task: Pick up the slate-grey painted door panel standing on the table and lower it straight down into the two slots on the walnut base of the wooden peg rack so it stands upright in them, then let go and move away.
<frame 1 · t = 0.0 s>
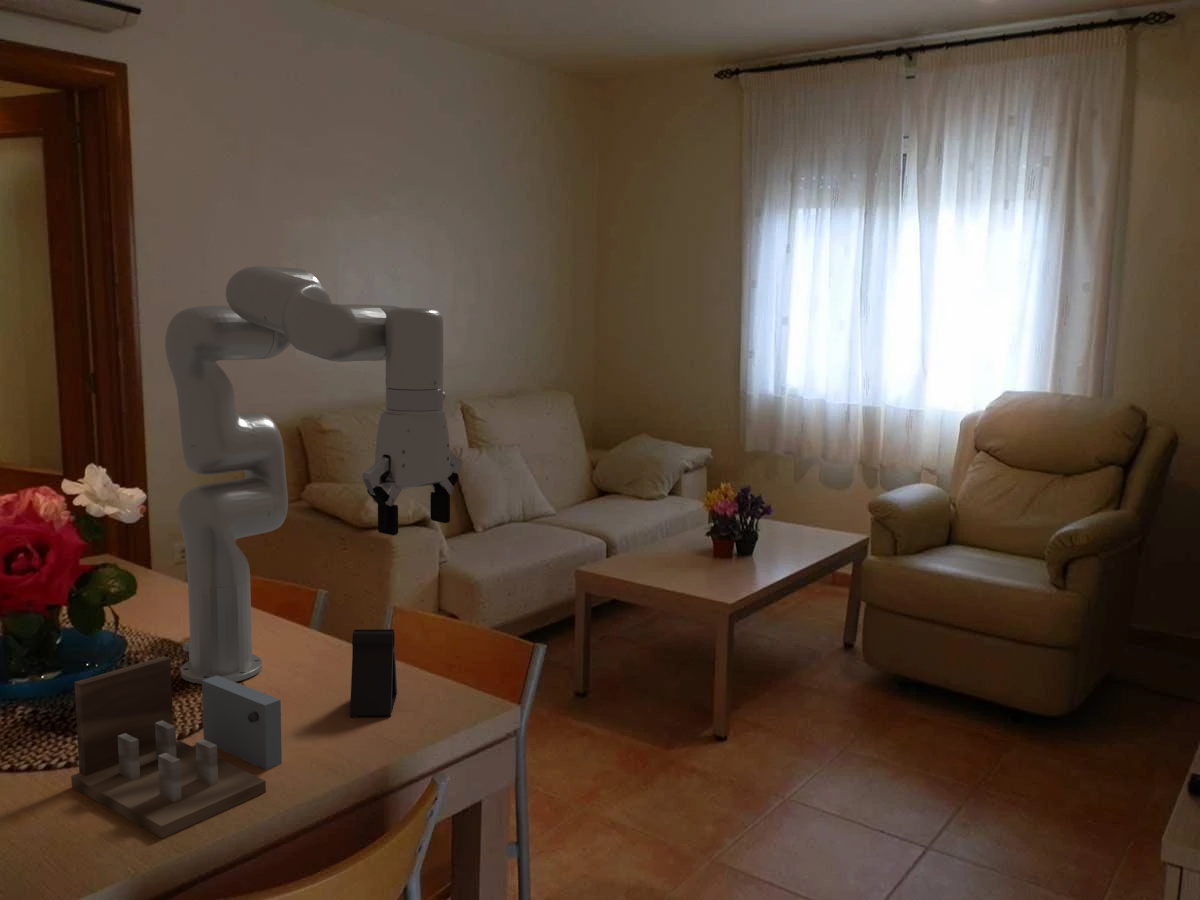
hand: (414, 527, 135), 31 cm above the table, tool pointing down, fingers open, 9 cm apart
wooden peg rack: (168, 789, 126), on the table
phone stand: (374, 707, 153), on the table
door panel: (241, 752, 137), on the table
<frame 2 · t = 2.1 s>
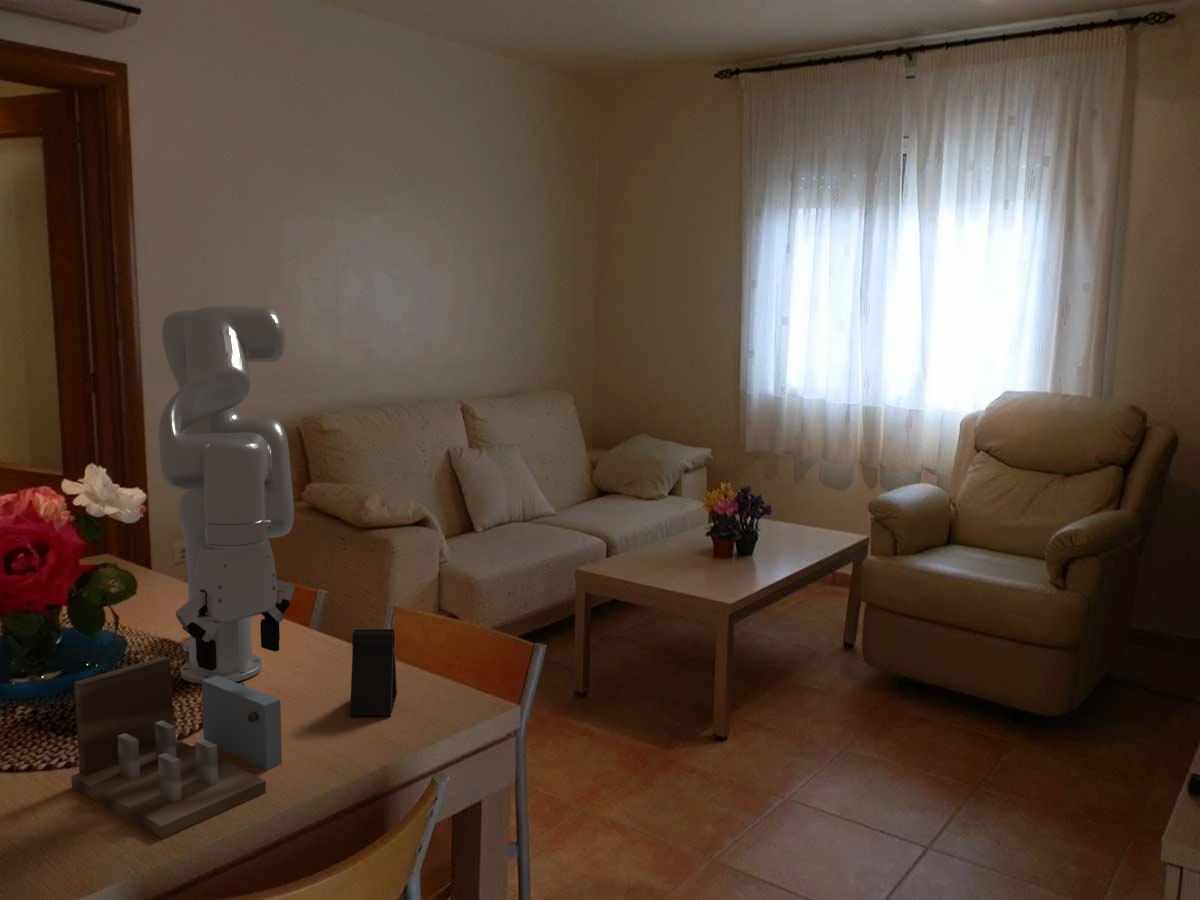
hand: (239, 658, 134), 14 cm above the table, tool pointing down, fingers open, 9 cm apart
nothing on the table moved.
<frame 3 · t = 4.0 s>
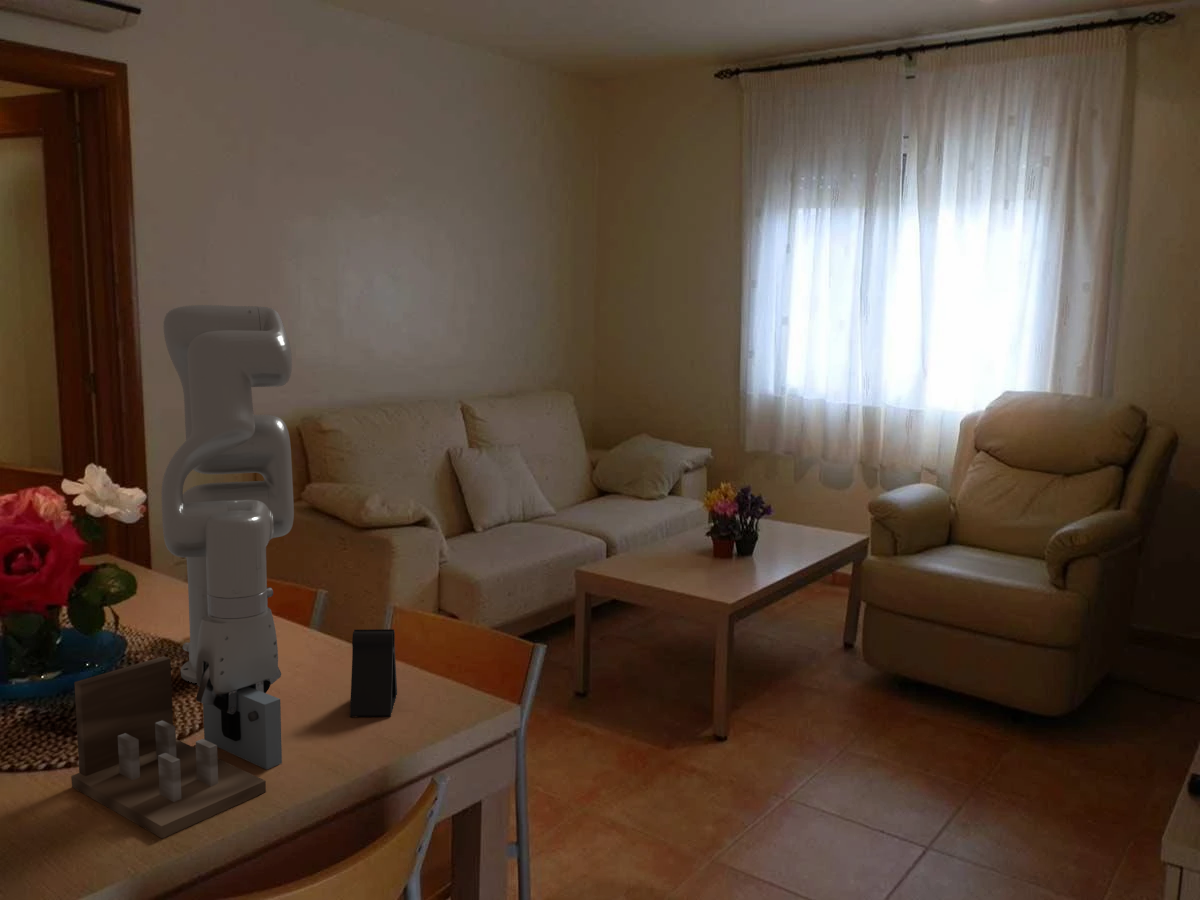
hand: (241, 733, 136), 3 cm above the table, tool pointing down, fingers closed on door panel, 2 cm apart
door panel: (242, 751, 137), on the table, touching gripper
everything else where it was.
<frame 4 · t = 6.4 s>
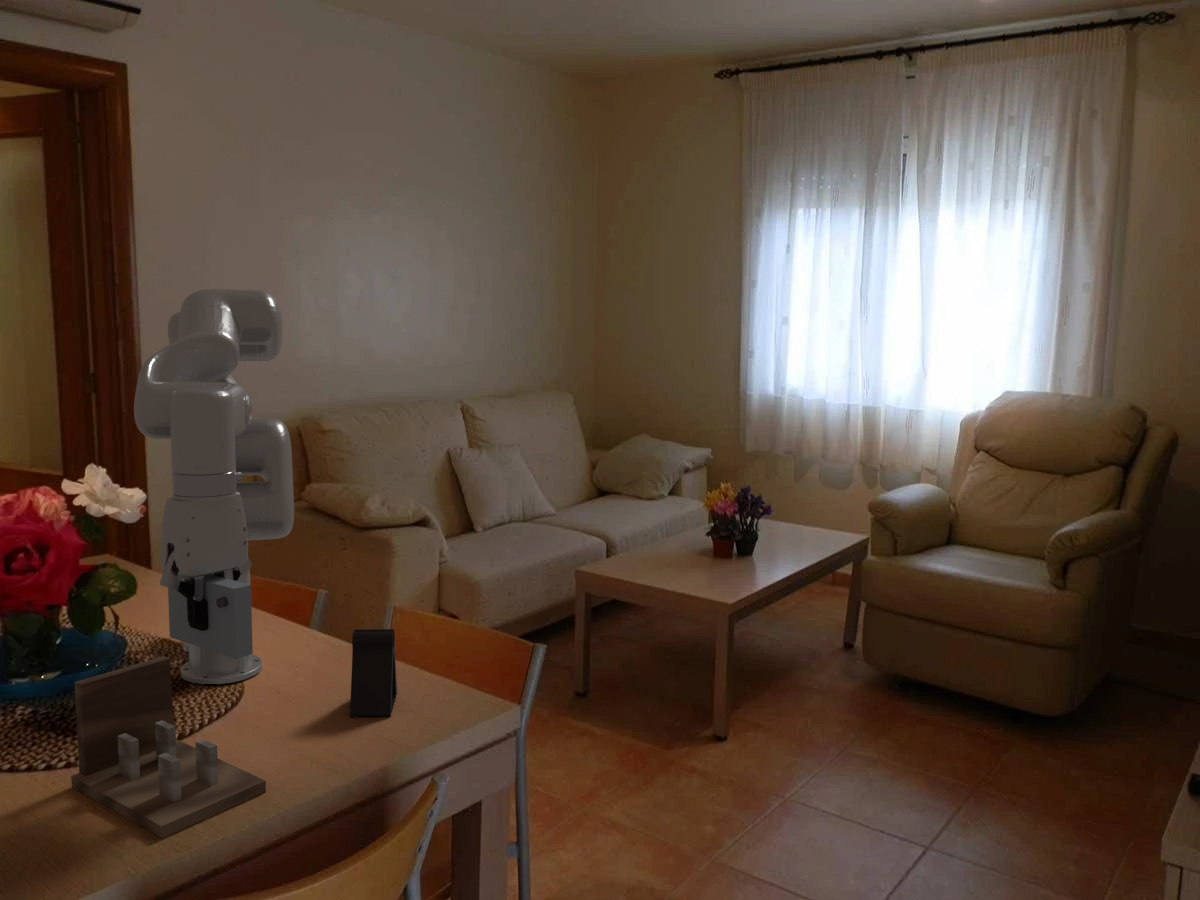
hand: (209, 624, 129), 20 cm above the table, tool pointing down, fingers closed on door panel
door panel: (210, 645, 129), point 17 cm above the table, touching gripper
everything else where it was.
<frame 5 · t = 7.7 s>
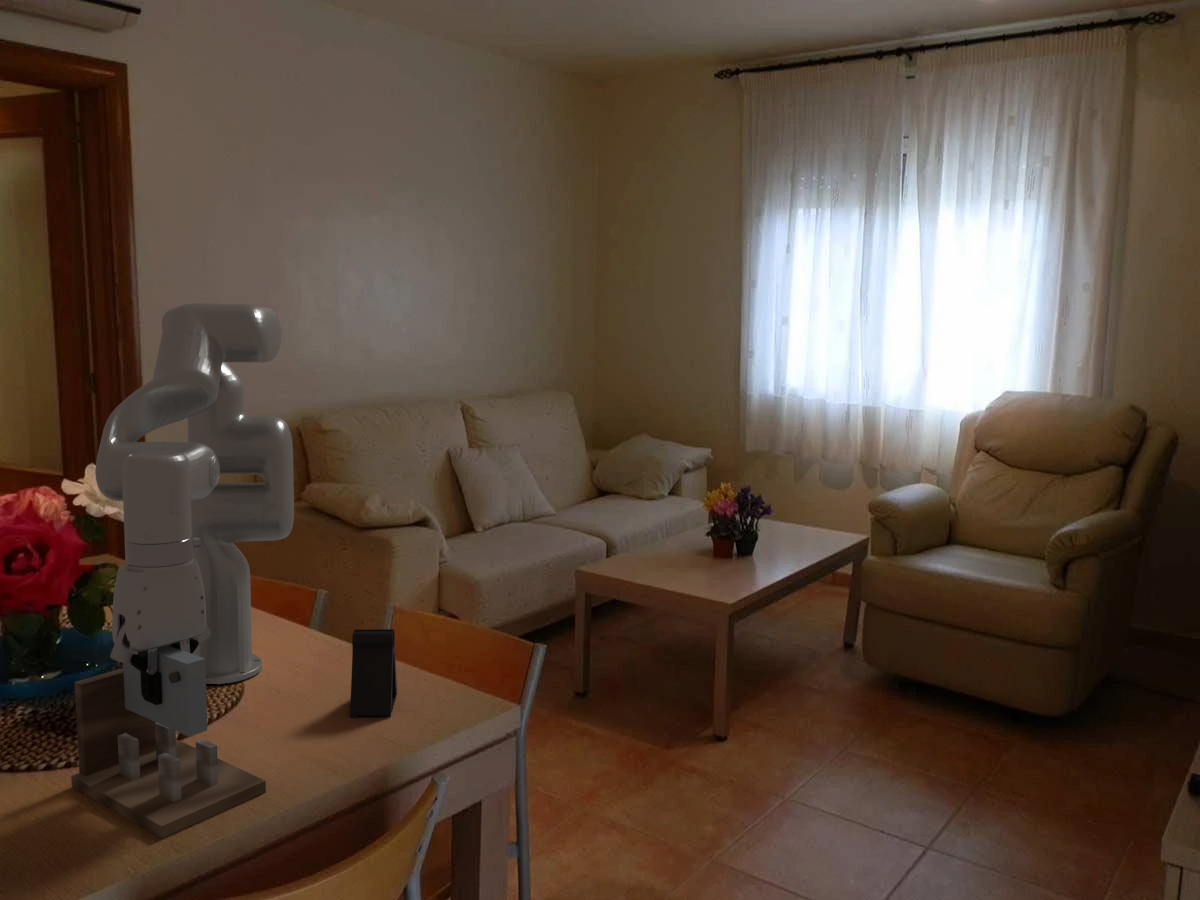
hand: (164, 697, 124), 12 cm above the table, tool pointing down, fingers closed on door panel
door panel: (165, 719, 124), point 9 cm above the table, touching gripper
everything else where it was.
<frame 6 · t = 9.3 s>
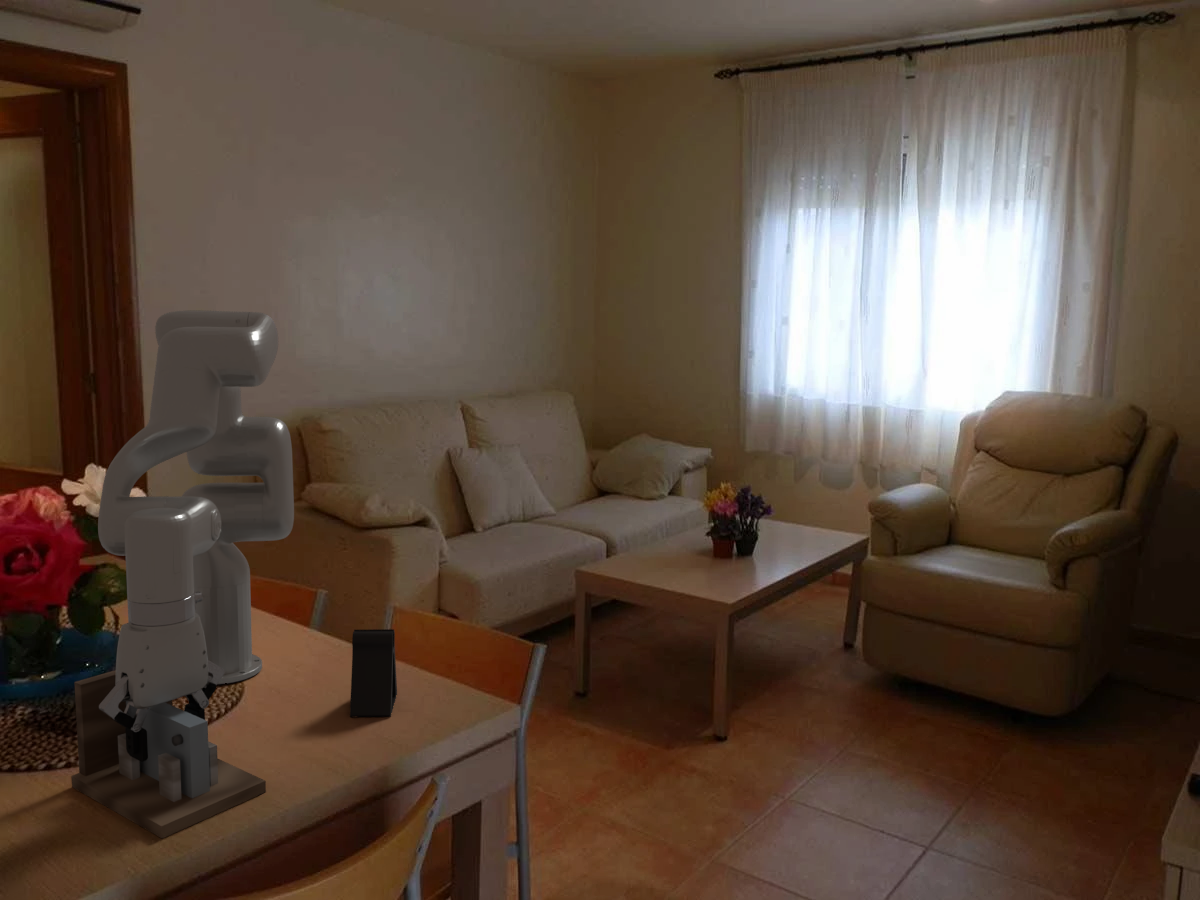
hand: (167, 746, 125), 6 cm above the table, tool pointing down, fingers open, 7 cm apart
door panel: (168, 777, 126), point 1 cm above the table, touching wooden peg rack
everything else where it was.
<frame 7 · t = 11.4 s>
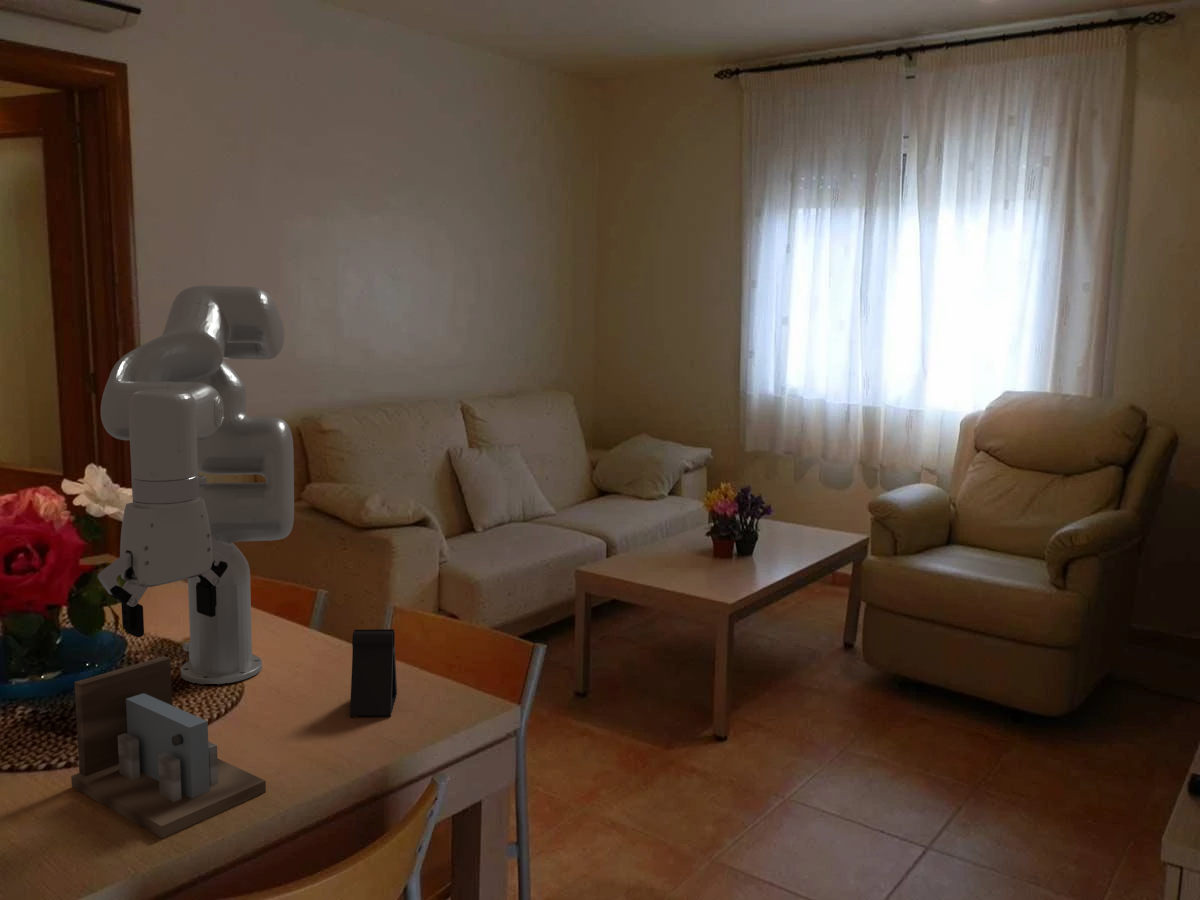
hand: (171, 624, 125), 21 cm above the table, tool pointing down, fingers open, 9 cm apart
nothing on the table moved.
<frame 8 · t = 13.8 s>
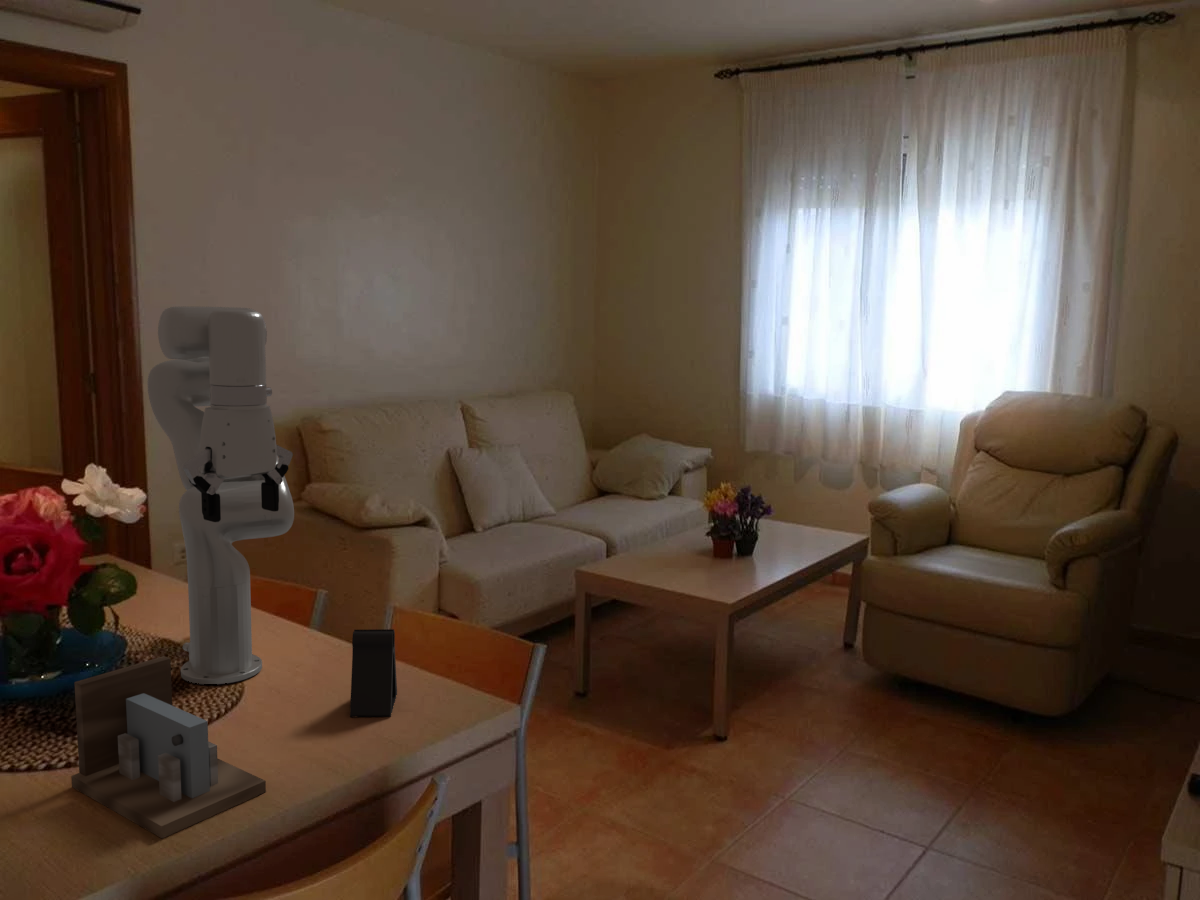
hand: (241, 515, 144), 30 cm above the table, tool pointing down, fingers open, 9 cm apart
nothing on the table moved.
at the end: door panel 0.1 cm off-centre on the wooden peg rack, point 1.5 cm above the wooden peg rack's base; door panel tilted 0°; the gripper is holding nothing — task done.
